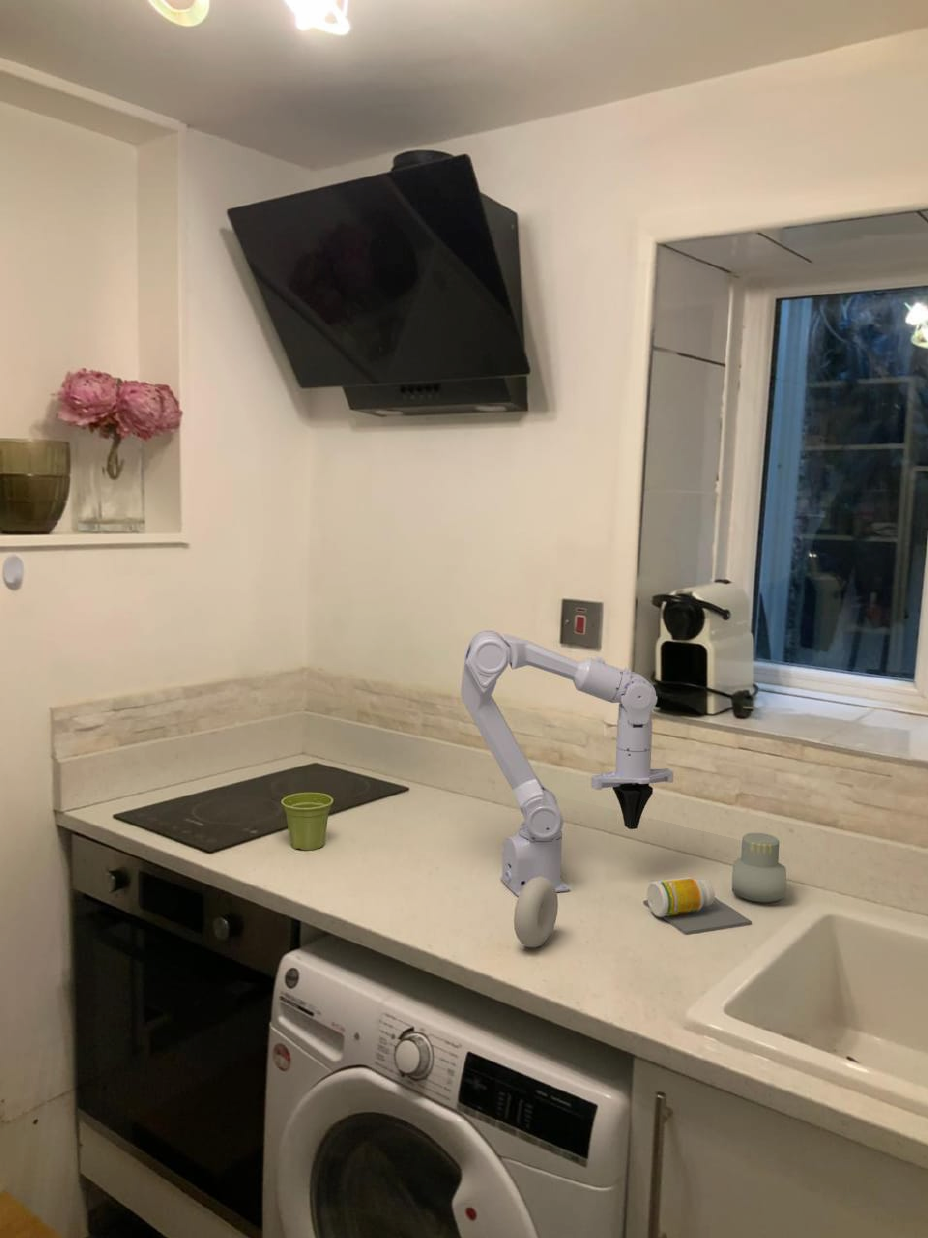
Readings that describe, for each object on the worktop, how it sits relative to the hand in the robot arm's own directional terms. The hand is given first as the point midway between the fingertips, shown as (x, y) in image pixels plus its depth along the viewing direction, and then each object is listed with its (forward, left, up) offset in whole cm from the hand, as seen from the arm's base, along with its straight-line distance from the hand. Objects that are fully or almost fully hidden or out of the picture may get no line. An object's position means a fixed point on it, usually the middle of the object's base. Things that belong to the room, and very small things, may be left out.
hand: (630, 827), depth 162 cm
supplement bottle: (-3, -12, -7) cm, 15 cm away
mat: (+5, -13, -10) cm, 17 cm away
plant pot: (-47, +35, -11) cm, 60 cm away
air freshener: (+19, -10, -11) cm, 24 cm away
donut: (-24, -15, -11) cm, 30 cm away
